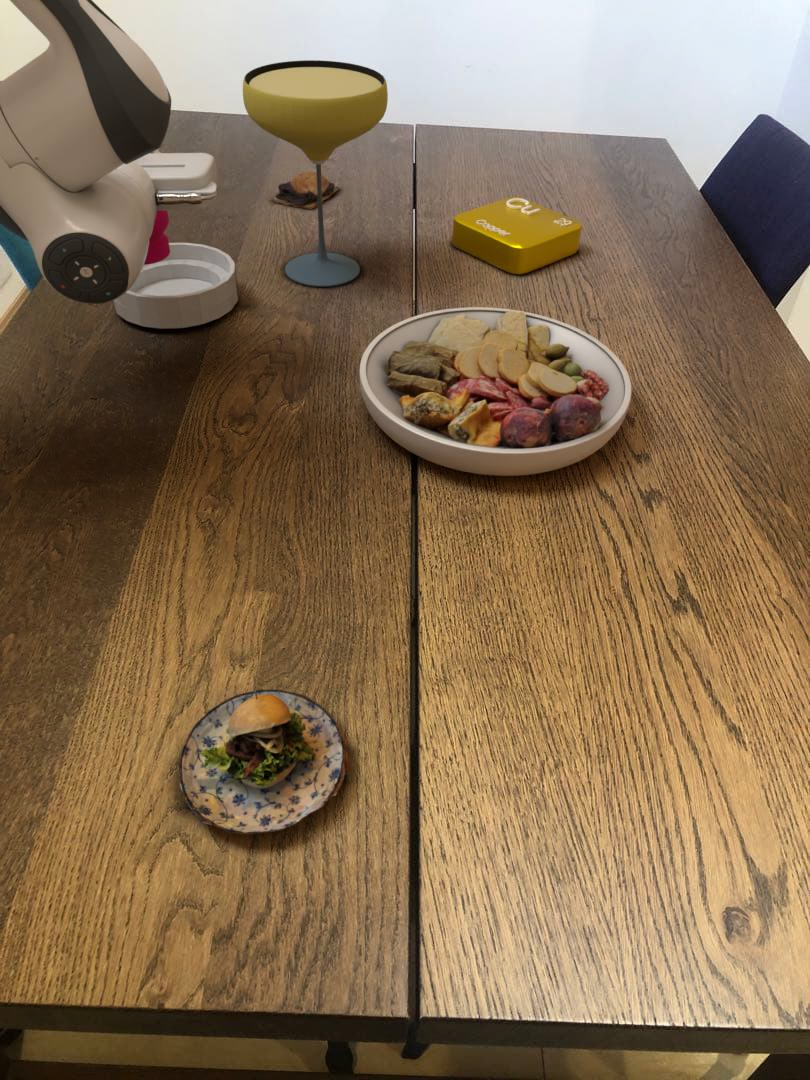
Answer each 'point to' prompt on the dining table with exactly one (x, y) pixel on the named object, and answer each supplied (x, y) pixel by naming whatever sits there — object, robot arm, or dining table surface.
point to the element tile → (516, 235)
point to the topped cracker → (304, 190)
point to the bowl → (494, 390)
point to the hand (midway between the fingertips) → (126, 155)
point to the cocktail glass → (316, 132)
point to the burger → (262, 762)
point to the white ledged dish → (181, 289)
